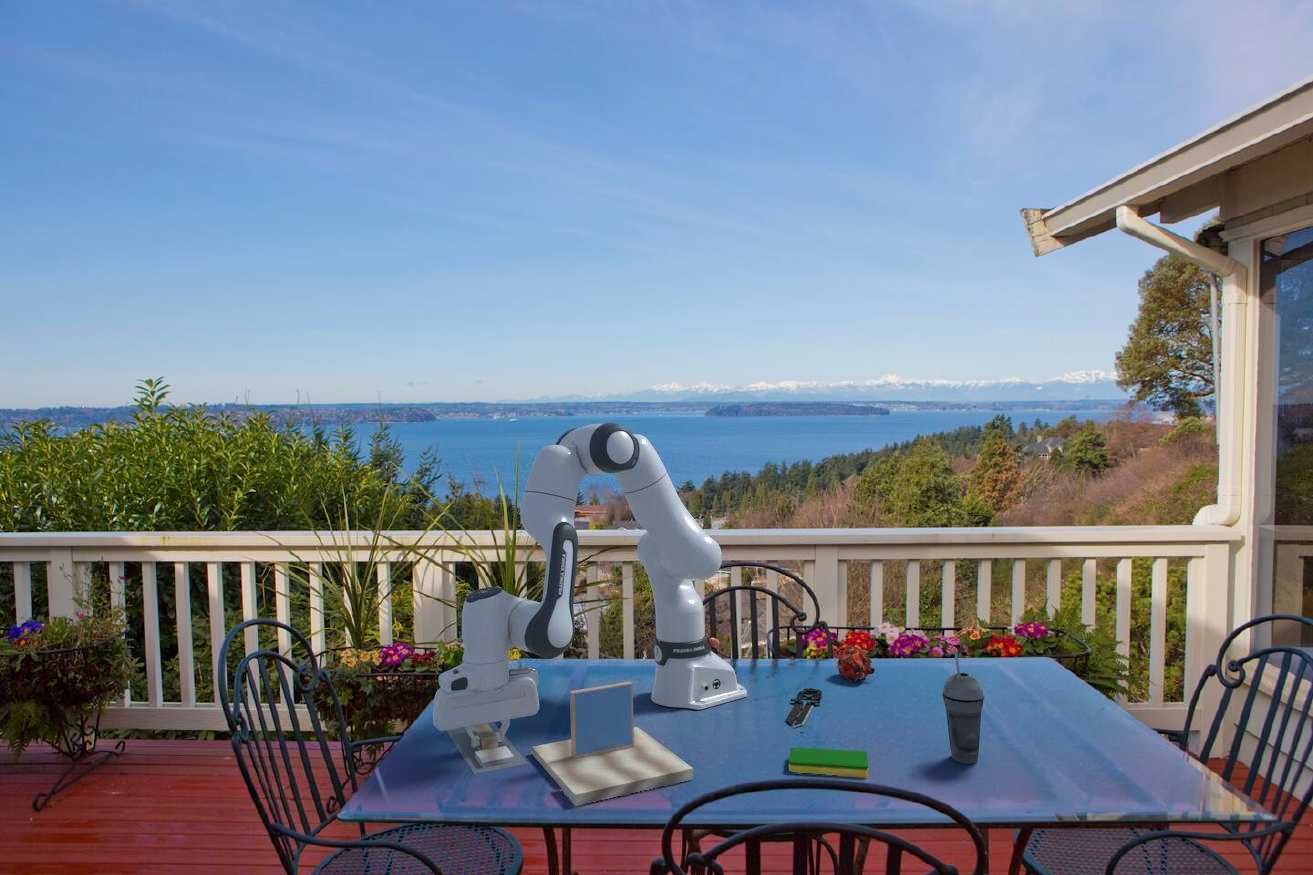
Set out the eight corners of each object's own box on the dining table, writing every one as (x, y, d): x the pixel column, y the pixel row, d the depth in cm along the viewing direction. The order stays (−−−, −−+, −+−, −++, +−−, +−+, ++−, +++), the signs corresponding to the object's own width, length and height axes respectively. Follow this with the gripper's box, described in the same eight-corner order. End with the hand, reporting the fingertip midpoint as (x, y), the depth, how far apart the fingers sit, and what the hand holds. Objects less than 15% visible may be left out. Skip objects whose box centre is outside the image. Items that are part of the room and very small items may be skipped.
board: (637, 736, 165) (636, 726, 165) (693, 779, 143) (693, 768, 143) (532, 757, 155) (531, 746, 155) (575, 806, 134) (575, 794, 134)
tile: (630, 744, 155) (629, 681, 155) (634, 746, 154) (632, 683, 154) (571, 756, 150) (569, 691, 150) (574, 759, 149) (572, 693, 149)
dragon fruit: (853, 677, 207) (862, 698, 195) (825, 658, 207) (833, 679, 195) (873, 651, 206) (883, 671, 194) (845, 632, 205) (854, 651, 194)
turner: (487, 728, 170) (487, 714, 170) (514, 761, 152) (514, 745, 152) (459, 733, 167) (458, 719, 167) (482, 767, 149) (482, 751, 149)
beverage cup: (982, 769, 145) (979, 656, 145) (939, 761, 148) (936, 651, 148) (989, 755, 151) (986, 647, 151) (948, 748, 155) (946, 642, 155)
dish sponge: (791, 759, 152) (790, 746, 152) (867, 764, 149) (867, 750, 149) (788, 775, 145) (788, 761, 145) (868, 780, 142) (868, 766, 142)
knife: (800, 732, 166) (800, 725, 166) (769, 727, 169) (769, 721, 169) (829, 695, 189) (829, 689, 189) (802, 692, 192) (802, 686, 192)
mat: (492, 723, 174) (492, 721, 174) (528, 766, 151) (528, 763, 151) (445, 732, 170) (445, 729, 170) (474, 777, 146) (474, 774, 146)
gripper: (533, 661, 165) (534, 729, 165) (430, 676, 156) (431, 748, 156) (542, 669, 159) (544, 739, 159) (436, 685, 150) (438, 760, 150)
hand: (487, 744), depth 158 cm, fingers open, 3 cm apart
